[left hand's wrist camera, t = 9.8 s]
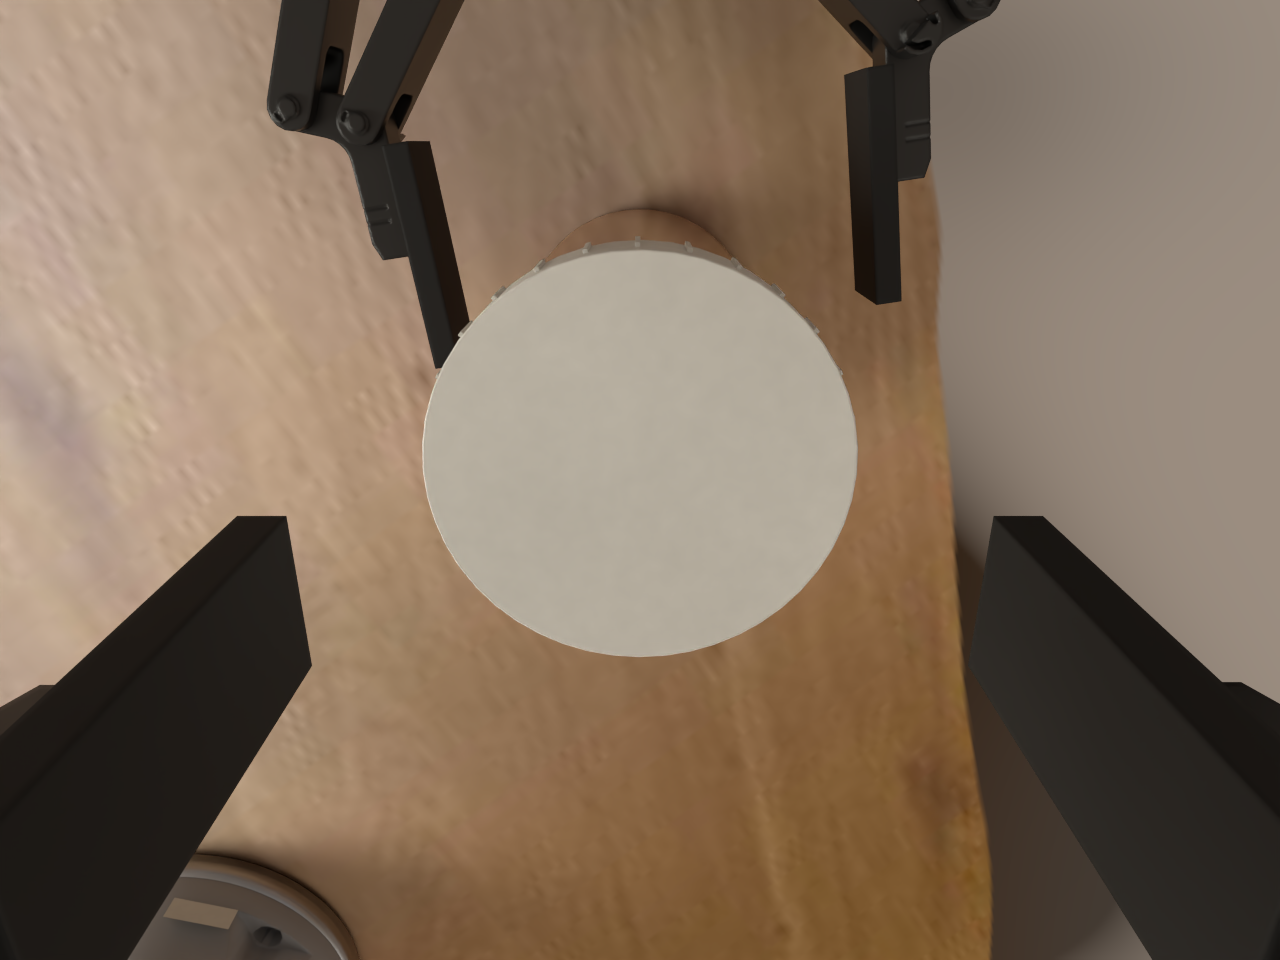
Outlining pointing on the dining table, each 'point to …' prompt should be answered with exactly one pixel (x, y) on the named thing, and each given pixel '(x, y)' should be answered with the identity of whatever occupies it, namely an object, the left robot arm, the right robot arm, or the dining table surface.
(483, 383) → the lid
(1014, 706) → the left robot arm
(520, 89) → the dining table surface
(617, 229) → the jar
